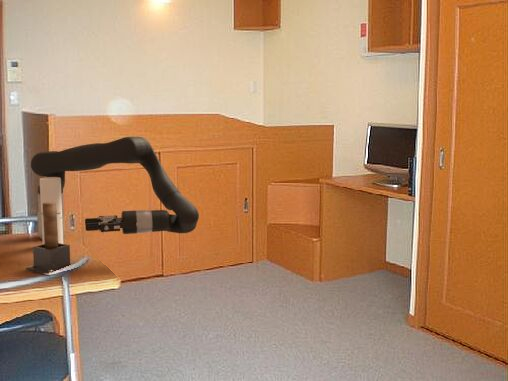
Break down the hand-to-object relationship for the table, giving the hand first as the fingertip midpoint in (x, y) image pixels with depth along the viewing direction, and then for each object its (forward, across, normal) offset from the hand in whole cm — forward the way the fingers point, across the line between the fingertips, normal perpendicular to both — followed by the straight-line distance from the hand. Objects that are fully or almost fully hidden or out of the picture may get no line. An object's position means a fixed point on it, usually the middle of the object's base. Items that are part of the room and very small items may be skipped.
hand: (85, 224), depth 193 cm
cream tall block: (+11, -31, +14) cm, 35 cm away
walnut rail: (+10, 0, +13) cm, 16 cm away
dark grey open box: (+10, 0, +14) cm, 17 cm away
